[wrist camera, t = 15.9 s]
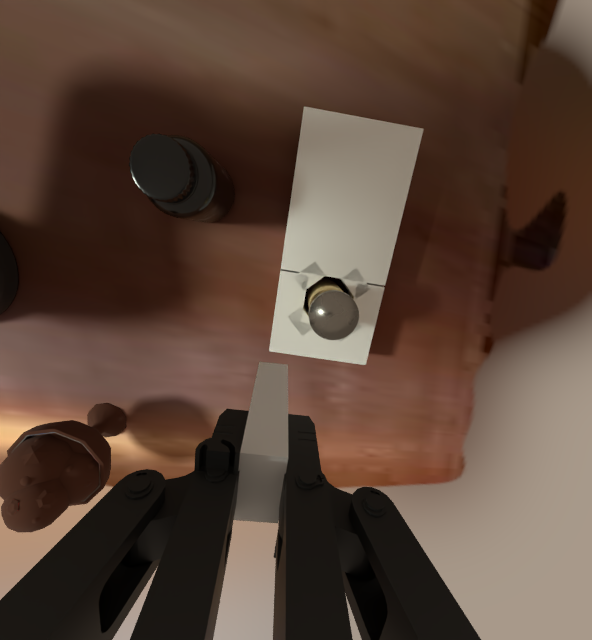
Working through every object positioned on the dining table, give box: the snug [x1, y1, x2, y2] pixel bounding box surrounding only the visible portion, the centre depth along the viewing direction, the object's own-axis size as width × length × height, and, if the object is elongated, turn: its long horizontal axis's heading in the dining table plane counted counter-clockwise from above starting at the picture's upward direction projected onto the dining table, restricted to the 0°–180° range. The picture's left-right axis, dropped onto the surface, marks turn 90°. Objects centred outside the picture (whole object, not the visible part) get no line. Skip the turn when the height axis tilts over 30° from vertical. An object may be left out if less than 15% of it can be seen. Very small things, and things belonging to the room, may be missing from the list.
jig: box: [269, 106, 424, 365], centre depth 34 cm, size 12×26×4 cm, turn 171°
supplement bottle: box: [129, 134, 235, 222], centre depth 28 cm, size 7×7×12 cm
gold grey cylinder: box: [307, 279, 359, 340], centre depth 32 cm, size 5×5×10 cm
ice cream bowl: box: [0, 403, 126, 532], centre depth 35 cm, size 11×11×15 cm
